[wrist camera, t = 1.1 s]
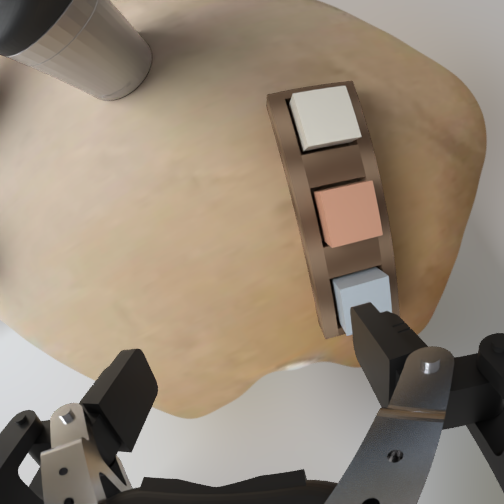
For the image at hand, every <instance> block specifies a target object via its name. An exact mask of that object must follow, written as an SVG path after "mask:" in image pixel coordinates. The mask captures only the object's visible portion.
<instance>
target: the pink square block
mask: <svg viewBox="0 0 504 504" xmlns="http://www.w3.org/2000/svg"><path fill="white" fill-rule="evenodd" d="M313 194H314V199H315V203H316V207H317V211H318V216H319V220H320V225H321V229H322V234H323V239H324V242H326V243H327V244H328V245H329V246H330V247H332V248H334V247H338V246H342V245H346V244H350V243H354V242H358V241H362V240H365V239H369V238H373V237H377V236H381V235H383V232H382V226H381V220H380V215H379V210H378V204H377V199H376V194H375V190H374V185H373V181H359V182H354V183H350V184H345V185H340V186H336V187H331V188H327V189H322V190H318V191H314V192H313Z"/></svg>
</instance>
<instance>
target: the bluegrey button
mask: <svg viewBox="0 0 504 504" xmlns="http://www.w3.org/2000/svg"><path fill="white" fill-rule="evenodd" d="M332 284H333V290H334V295H335V301H336V307H337V313H338V319H339V322H340V324H341V326H342V328H343V330H344V331H345V333H346V335H347V336H348V335H352V325H351V316H350V308H351V307H354V306H357V305H361V304H365V303H368V302H371V303H372V304H373V305H374V306H375V307H376V308H377V310H378V311H379V312H380V313H381V312H384V311H389V312H391V313H392V305H391V294H390V284H389V276H388V275H387V274H385V273H384V272H383V271H381V270H380V269H378V268H377V267H372V268H369V269H365V270H362V271H358V272H354V273H351V274H347V275H343V276H340V277H336V278H332Z"/></svg>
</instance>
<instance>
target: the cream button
mask: <svg viewBox="0 0 504 504" xmlns="http://www.w3.org/2000/svg"><path fill="white" fill-rule="evenodd" d="M289 106H290V109H291V113H292V116H293V120H294V123H295V126H296V130H297V133H298V137H299V140H300V144H301V148H302V151H303V152H304V151H309V150H314V149H319V148H324V147H329V146H334V145H339V144H345V143H350V142H352V141H354V140H356V139H358V138H360V137H361V133H360V129H359V126H358V123H357V119H356V116H355V113H354V109H353V106H352V103H351V100H350V97H349V94H348V91H347V88H346V86H338V87H330V88H323V89H317V90H311V91H305V92H299V93H293V94H292V97H291V100H290V103H289Z"/></svg>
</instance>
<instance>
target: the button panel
mask: <svg viewBox="0 0 504 504" xmlns="http://www.w3.org/2000/svg"><path fill="white" fill-rule="evenodd" d="M338 86H346V88H347V91H348V94H349V97H350V100H351V103H352V106H353V109H354V113H355V116H356V119H357V123H358V126H359V129H360V133H361V137H360V138H358V139H356V140H354V141H352V142H350V143H345V144H339V145H334V146H329V147H324V148H319V149H314V150H309V151H304V152H303V151H302V148H301V144H300V140H299V137H298V133H297V130H296V126H295V123H294V120H293V116H292V113H291V109H290V106H289V103H290V100H291V97H292V94H293V93H299V92H305V91H311V90H317V89H323V88H330V87H338ZM266 106H267V110H268V113H269V116H270V120H271V123H272V127H273V130H274V134H275V137H276V141H277V145H278V148H279V152H280V156H281V159H282V163H283V167H284V171H285V175H286V178H287V182H288V186H289V190H290V194H291V198H292V202H293V206H294V210H295V214H296V219H297V223H298V227H299V231H300V236H301V240H302V244H303V249H304V253H305V258H306V262H307V267H308V272H309V276H310V281H311V286H312V291H313V295H314V300H315V305H316V311H317V316H318V321H319V325H320V327H321V329H322V332H323V334H324V337H325V339H328V338H332V337H336V336H339V335H343V334H346V333H345V331H344V330H343V328H342V326H341V324H340V322H339V319H338V313H337V307H336V301H335V295H334V290H333V284H332V278H336V277H340V276H343V275H347V274H351V273H354V272H358V271H362V270H365V269H369V268H372V267H377V268H378V269H380V270H381V271H383V272H384V273H385V274H387V275H388V276H389V284H390V294H391V305H392V313H394V314H396V315H398V316H399V317H400V315H399V300H398V288H397V278H396V268H395V260H394V252H393V245H392V238H391V231H390V225H389V219H388V214H387V208H386V203H385V198H384V193H383V188H382V183H381V179H380V174H379V170H378V166H377V161H376V157H375V153H374V150H373V146H372V142H371V138H370V135H369V131H368V128H367V124H366V121H365V117H364V114H363V111H362V108H361V105H360V101H359V98H358V95H357V92H356V89H355V87H354V84H353V81H347V82H338V83H331V84H323V85H317V86H310V87H304V88H298V89H293V90H288V91H283V92H278V93H273V94H268V95H267V105H266ZM359 181H373V185H374V190H375V194H376V199H377V204H378V210H379V215H380V220H381V226H382V232H383V235H381V236H377V237H373V238H369V239H365V240H362V241H358V242H354V243H350V244H346V245H342V246H338V247H334V248H332V247H330V246H329V245H328V244H327V243H326V242H324V239H323V234H322V229H321V225H320V220H319V216H318V211H317V207H316V203H315V199H314V194H313V192H314V191H318V190H322V189H327V188H331V187H336V186H340V185H345V184H350V183H354V182H359Z"/></svg>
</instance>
